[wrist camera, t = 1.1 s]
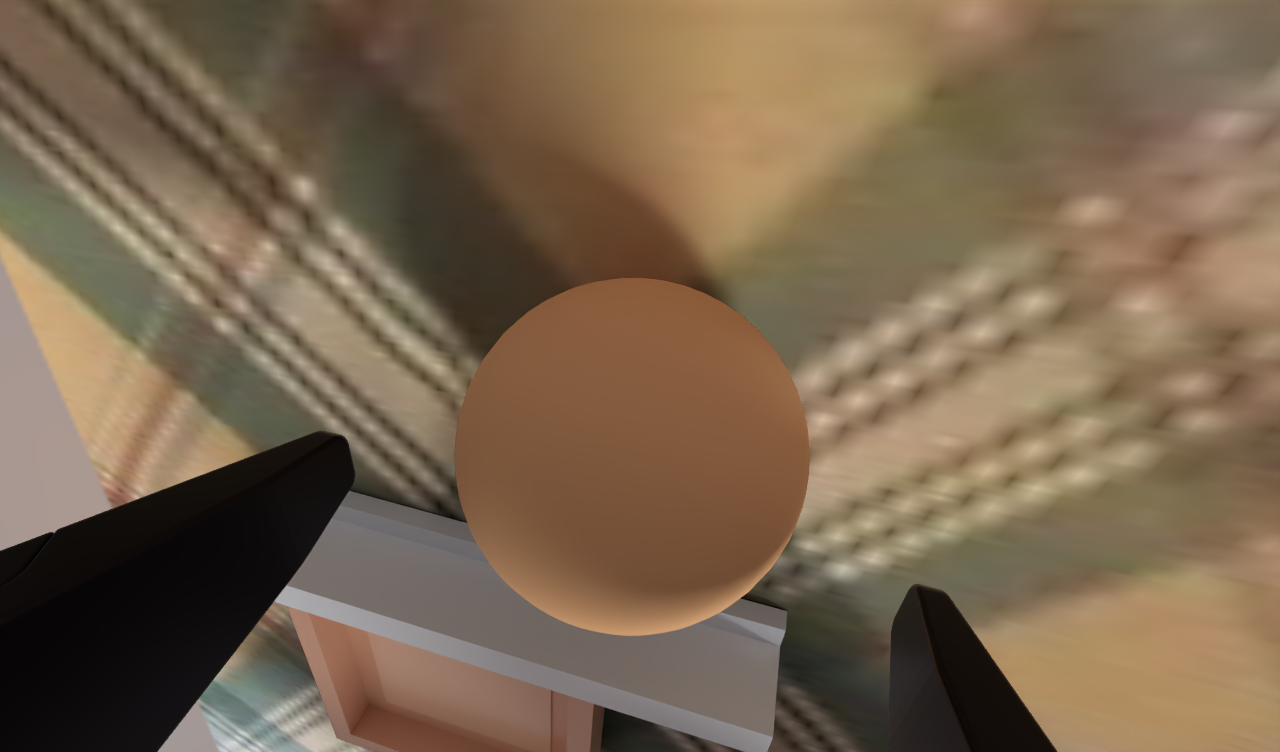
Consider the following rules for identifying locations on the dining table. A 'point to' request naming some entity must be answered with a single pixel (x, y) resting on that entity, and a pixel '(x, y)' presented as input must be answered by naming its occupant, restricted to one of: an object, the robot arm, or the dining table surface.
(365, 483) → the dining table surface
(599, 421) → the ball
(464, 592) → the wall
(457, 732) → the dish
